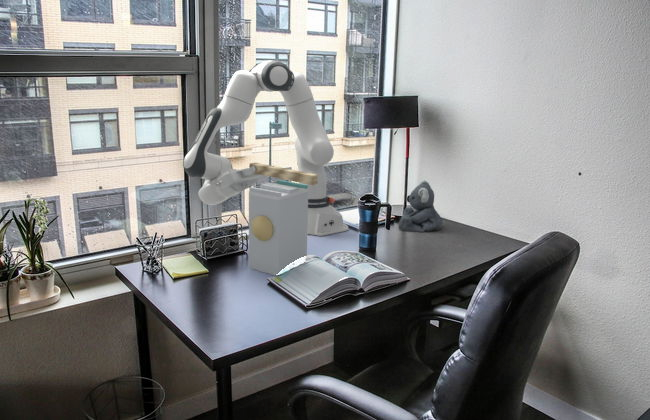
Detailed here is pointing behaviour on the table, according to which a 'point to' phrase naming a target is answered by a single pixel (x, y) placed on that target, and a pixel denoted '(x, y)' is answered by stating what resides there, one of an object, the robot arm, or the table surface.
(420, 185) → the koala plush
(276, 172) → the maple shaft
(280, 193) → the grey box with disc
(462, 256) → the table surface
